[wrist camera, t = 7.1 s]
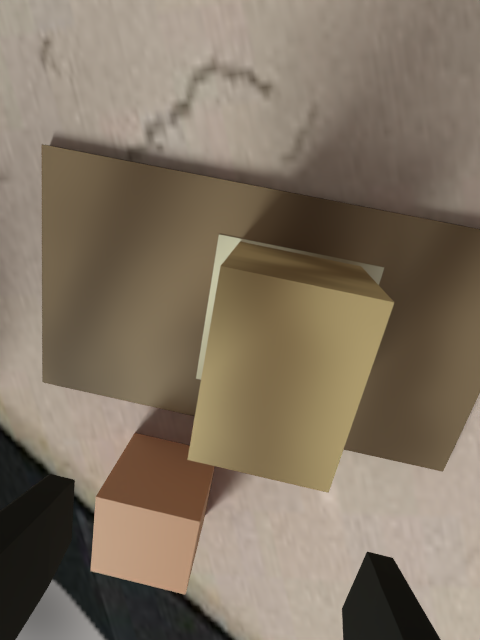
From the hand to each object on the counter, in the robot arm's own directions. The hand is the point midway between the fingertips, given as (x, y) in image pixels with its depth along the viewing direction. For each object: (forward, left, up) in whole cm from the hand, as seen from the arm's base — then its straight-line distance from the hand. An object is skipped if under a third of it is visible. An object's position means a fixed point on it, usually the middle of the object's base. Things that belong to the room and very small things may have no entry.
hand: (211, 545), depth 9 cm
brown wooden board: (0, -3, -9) cm, 10 cm away
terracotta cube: (+3, +7, -10) cm, 12 cm away
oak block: (-1, -2, -9) cm, 9 cm away
